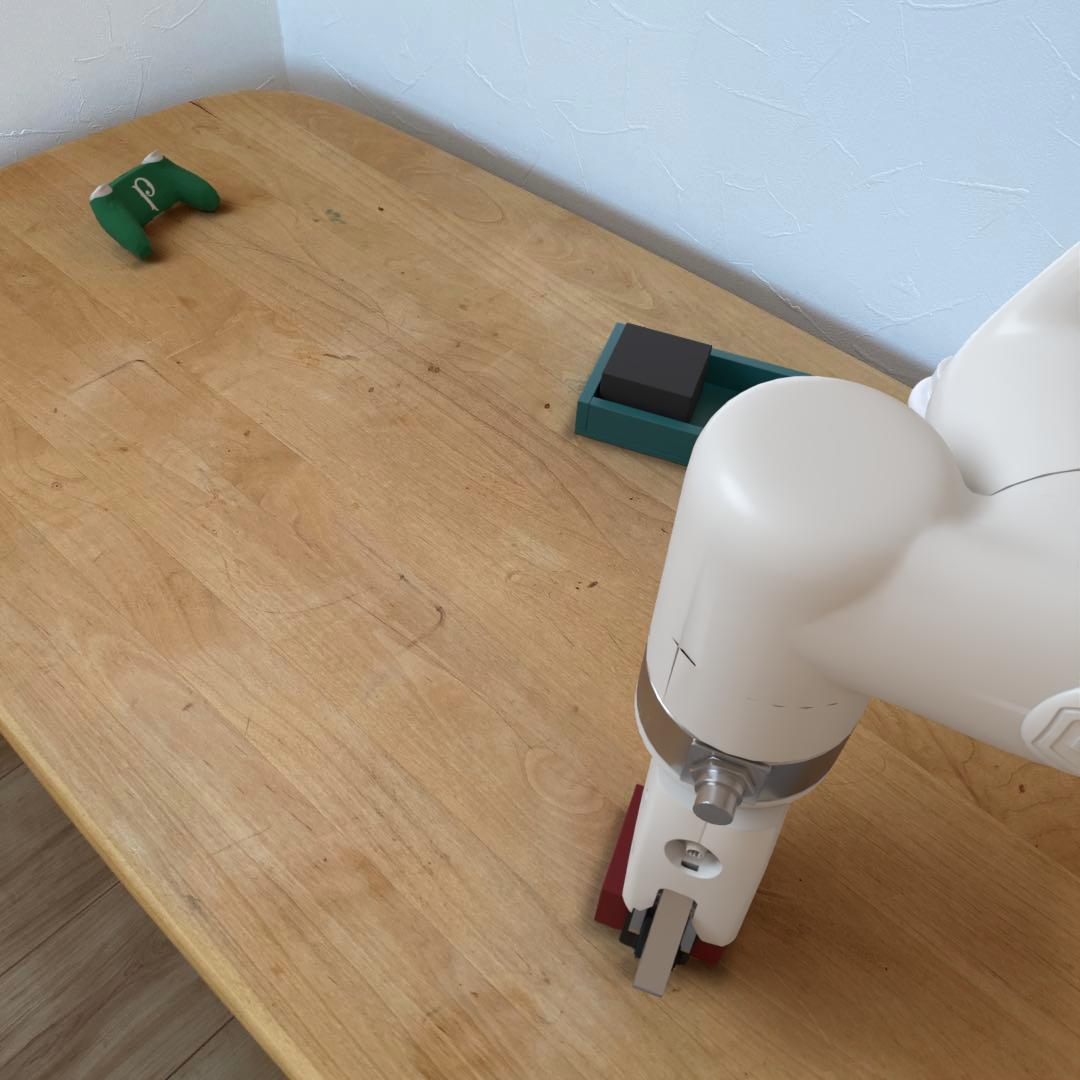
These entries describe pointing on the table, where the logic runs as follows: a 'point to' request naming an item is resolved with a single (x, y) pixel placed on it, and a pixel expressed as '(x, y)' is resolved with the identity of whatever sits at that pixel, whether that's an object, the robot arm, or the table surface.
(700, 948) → the dark red block
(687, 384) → the dark grey block
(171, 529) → the table surface
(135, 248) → the gaming controller
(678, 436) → the holder
